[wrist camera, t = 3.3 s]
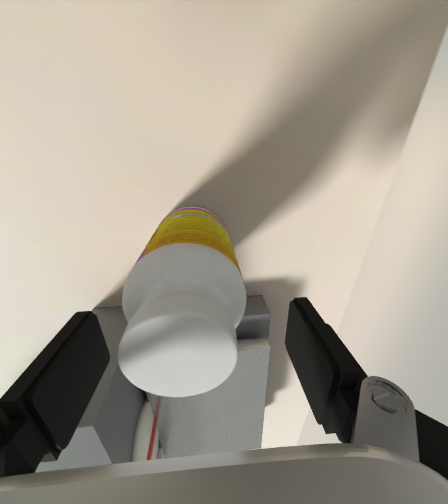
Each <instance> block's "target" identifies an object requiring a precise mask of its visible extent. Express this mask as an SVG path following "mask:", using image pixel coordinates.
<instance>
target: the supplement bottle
mask: <svg viewBox="0 0 448 504" xmlns="http://www.w3.org/2000/svg"><path fill="white" fill-rule="evenodd" d="M122 306H123V311H124V314H125V317H126V320H127V322H128V325H127V327H126V329H125V332H124V334H123V337H122V339H121V341H120V344H119V348H118V354H117V357H118V364H119V366H120V369H121V371H122V372H123V374H124V375H125V377H126V378H127V379H128V380H129V381H130V382H131V383H132V384H134V385H135V386H137V387H138V388H140V389H142V390H144V391H146V392H150V393H153V394H156V395H161V396H167V397H187V396H193V395H197V394H201V393H204V392H207V391H209V390H211V389H213V388H215V387H217V386H218V385H220V384H221V383H223V382H224V381H225V380H226V379H227V378H228V377H229V376H230V375H231V373H232V372H233V370H234V368H235V366H236V364H237V360H238V345H237V338H236V330H235V329H236V328H237V326H238V325H239V323H240V321H241V320H242V317H243V315H244V311H245V307H246V289H245V285H244V281H243V278H242V275H241V272H240V269H239V266H238V263H237V260H236V257H235V253H234V250H233V247H232V244H231V240H230V237H229V234H228V231H227V229H226V227H225V225H224V223H223V222H222V221H221V219H220V218H219V217H218V216H217V215H215V214H214V213H212V212H211V211H209V210H207V209H204V208H200V207H183V208H179V209H177V210H175V211H173V212H171V213H170V214H168V215H167V216H166V217H165V218H164V219H163V220H162V222H161V223H160V224H159V226H158V228H157V229H156V231H155V232H154V234H153V236H152V237H151V239H150V241H149V242H148V244H147V245H146V247H145V249H144V251H143V252H142V254H141V256H140V257H139V259H138V260H137V262H136V264H135V265H134V267H133V268H132V270H131V272H130V273H129V275H128V277H127V279H126V282H125V285H124V288H123V294H122Z"/></svg>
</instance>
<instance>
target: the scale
mask: <svg viewBox="0 0 448 504" xmlns="http://www.w3.org/2000/svg"><path fill="white" fill-rule="evenodd" d="M92 312H93V314H96V315H97V318H98V321H99V324H100V327H101V329H102V332H103V335H104V338H105V341H106V344H107V347H108V350H109V353H110V361H109V364H108V366H107V368H106V370H105V372H104V374H103V376H102V378H101V380H100V382H99V384H98V386H97V388H96V390H95V392H94V394H93V396H92V398H91V400H90V402H89V404H88V406H87V408H86V410H85V412H84V414H83V416H82V418H81V420H80V422H79V424H78V427H77V429H76V431H75V433H74V435H73V437H72V439H71V441H70V443H69V444H68V446H67V447H66V448H65V449H64V450H62V452H61V454H60V456H59V458H58V460H57V461H51V462H40V464H39V465H38V467H37V469H36V473H38V472H46V471H54V470H62V469H72V468H81V467H90V466H99V465H109V464H118V463H127V462H137V461H146V460H156V459H165V457H164V453H163V450H162V446H161V443H160V439H159V433H158V429H157V423H158V419H157V418H154V415H153V412H152V408H151V405H150V402H149V401H148V398H147V395H146V391H144V390H142V389H140V388H138V387H137V386H135V385H134V384H132V383H131V382H130V381H129V380H128V379H127V378H126V377H125V375H124V374H123V372H122V371H121V369H120V366H119V364H118V357H117V354H118V348H119V344H120V341H121V339H122V337H123V334H124V332H125V329H126V327H127V325H128V322H127V320H126V317H125V314H124V311H123V306H122V307H109V308H96V309H93V310H92ZM269 322H270V312H269V310H268V308H267V305H266V303H265V301H264V298H263V296H262V295H261V296H249V297H246V307H245V311H244V315H243V317H242V320H241V321H240V323H239V325H238V326H237V328H236V329H235V330H236V338H237V340H245V339H256V338H266V337H267V339H268V333H269Z"/></svg>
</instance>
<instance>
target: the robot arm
mask: <svg viewBox="0 0 448 504" xmlns="http://www.w3.org/2000/svg"><path fill="white" fill-rule="evenodd" d="M285 345H286V349H287V352H288V354H289V356H290V359H291V361H292V364H293V366H294V368H295V371H296V373H297V376H298V378H299V380H300V383H301V385H302V388H303V390H304V392H305V395H306V397H307V400H308V402H309V404H310V407H311V409H312V412H313V414H314V416H315V419H316V421H317V423H318V424H322V425H323V428H324V430H325V433H326V434H331V433H336V435H337V437H338V439H339V440H340V441H341V442H342V443H340V444H338V443H336V444H315V445H302V446H289V447H277V448H267V449H256V450H246V451H236V452H225V453H215V454H205V455H195V456H185V457H176V458H166V459H156V460H146V461H137V462H127V463H118V464H109V465H99V466H90V467H81V468H72V469H62V470H54V471H46V472H38V473H36V469H37V467H38V465H39V464H40V462H51V461H57V460H58V458H59V456H60V454H61V452H62V450H64V449H65V448H66V447H67V446H68V444H69V443H70V441H71V439H72V437H73V435H74V433H75V431H76V429H77V427H78V424H79V422H80V420H81V418H82V416H83V414H84V412H85V410H86V408H87V406H88V404H89V402H90V400H91V398H92V396H93V394H94V392H95V390H96V388H97V386H98V384H99V382H100V380H101V378H102V376H103V374H104V372H105V370H106V368H107V366H108V364H109V361H110V353H109V350H108V347H107V344H106V341H105V338H104V335H103V332H102V329H101V327H100V324H99V321H98V318H97V315H96V314H93V312H92V311H84V312H76V313H75V314H74V315H73V316H72V318H71V319H70V320H69V321H68V322H67V323H66V324H65V325H64V327H63V328H62V329H61V330H60V331H59V332H58V333H57V335H56V336H55V337H54V338H53V339H52V340H51V341H50V343H49V344H48V345H47V346H46V347H45V348H44V349H43V351H42V352H41V353H40V354H39V355H38V356H37V357H36V359H35V360H34V361H33V362H32V363H31V364H30V365H29V367H28V368H27V369H26V370H25V371H24V372H23V373H22V375H21V376H20V377H19V378H18V379H17V380H16V381H15V383H14V384H13V385H12V386H11V387H10V388H9V389H8V391H7V392H6V393H5V394H4V395H3V396H2V397H1V398H0V504H448V427H447V426H445V425H444V424H442V423H440V422H438V421H436V420H434V419H432V418H430V417H429V416H427V415H425V414H423V413H421V412H419V411H418V410H416V409H414V406H413V403H412V401H411V400H410V398H409V396H408V395H407V394H406V393H405V392H404V391H403V390H402V389H401V388H400V387H398V386H397V385H396V384H394V383H392V382H391V381H389V380H387V379H384V378H381V377H376V376H371V377H368V376H367V375H366V373H365V372H364V371H363V369H362V368H361V367H360V365H359V364H358V363H357V361H356V360H355V358H354V357H353V356H352V354H351V353H350V352H349V350H348V349H347V348H346V346H345V345H344V344H343V342H342V341H341V340H340V338H339V337H338V336H337V334H336V333H335V331H334V330H333V329H332V327H331V326H330V325H329V324H326V323H325V322H324V321H323V319H322V318H321V316H320V315H319V314H318V312H317V311H316V309H315V308H314V307H313V305H312V304H311V303H310V301H309V300H308V299H307V298H306V297H301V298H294V299H293V301H290V305H289V314H288V322H287V330H286V338H285Z"/></svg>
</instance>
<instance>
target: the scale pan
mask: <svg viewBox="0 0 448 504" xmlns="http://www.w3.org/2000/svg"><path fill="white" fill-rule="evenodd" d="M237 345H238V360H237V364H236V366H235V368H234V370H233V372H232V373H231V375H230V376H229V377H228V378H227V379H226V380H225V381H224V382H223V383H221V384H220V385H218V386H217V387H215V388H213V389H211V390H209V391H207V392H204V393H201V394H197V395H193V396H187V397H167V396H161V395H156V394H153V393H150V392H146V395H147V398H148V401H149V402H150V405H151V408H152V412H153V415H154V418H157V419H158V423H157V429H158V433H159V439H160V443H161V446H162V450H163V453H164V457H165V459H166V458H176V457H185V456H195V455H205V454H215V453H225V452H236V451H244V450H252V449H259V448H261V441H262V431H263V420H264V410H265V399H266V389H267V378H268V368H269V357H270V345H269V342H268V339H267V337H266V338H256V339H245V340H237Z"/></svg>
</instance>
